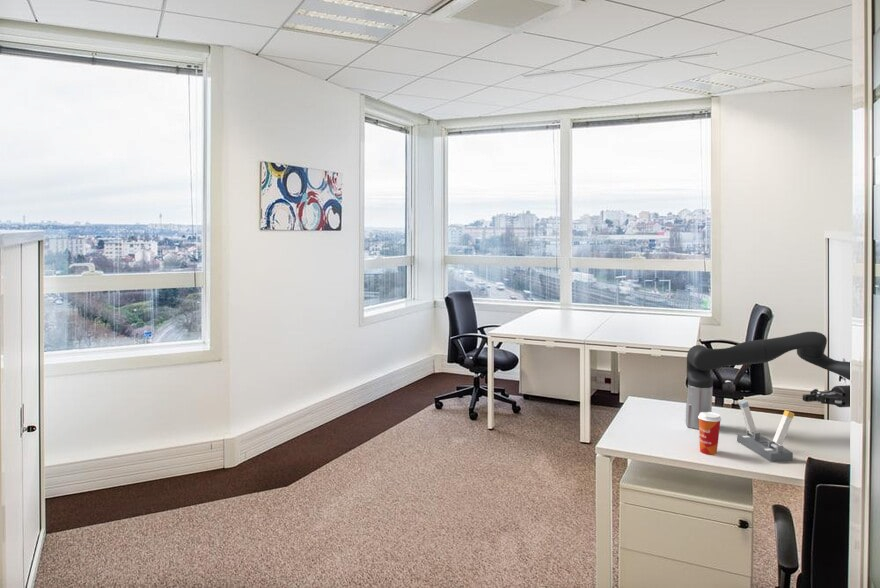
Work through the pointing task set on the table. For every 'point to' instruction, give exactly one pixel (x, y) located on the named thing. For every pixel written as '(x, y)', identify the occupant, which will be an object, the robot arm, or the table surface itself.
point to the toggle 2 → (783, 428)
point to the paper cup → (709, 432)
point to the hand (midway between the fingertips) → (804, 398)
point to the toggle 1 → (747, 417)
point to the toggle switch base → (764, 447)
